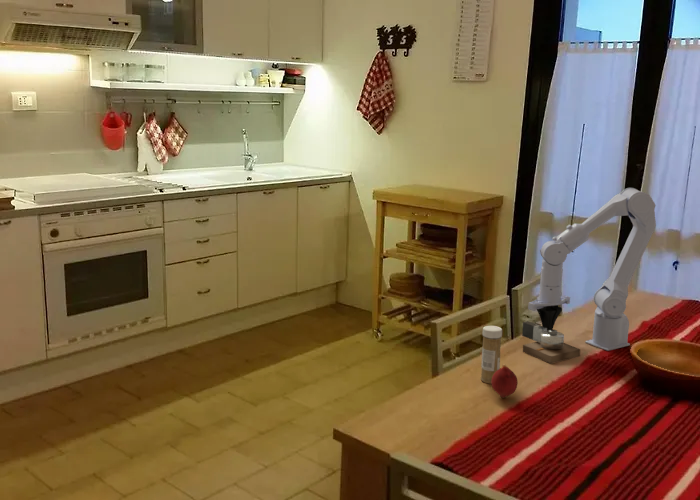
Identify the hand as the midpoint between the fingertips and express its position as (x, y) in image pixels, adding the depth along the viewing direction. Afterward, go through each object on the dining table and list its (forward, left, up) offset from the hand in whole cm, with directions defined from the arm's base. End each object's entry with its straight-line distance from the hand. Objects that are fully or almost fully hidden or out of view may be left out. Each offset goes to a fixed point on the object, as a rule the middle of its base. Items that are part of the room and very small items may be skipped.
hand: (547, 331), depth 195 cm
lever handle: (+6, +4, -1) cm, 7 cm away
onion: (+37, +22, -4) cm, 43 cm away
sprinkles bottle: (+33, +13, -4) cm, 35 cm away
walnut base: (+6, +7, -3) cm, 10 cm away
